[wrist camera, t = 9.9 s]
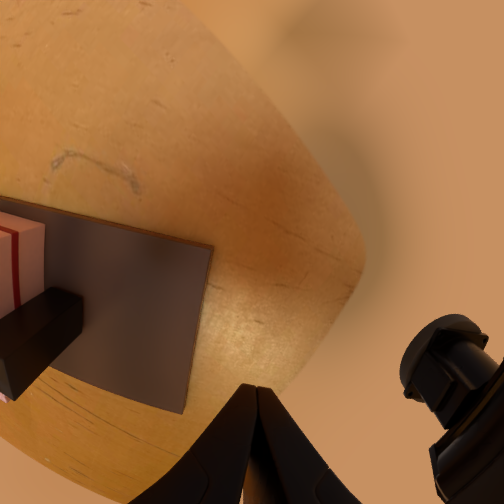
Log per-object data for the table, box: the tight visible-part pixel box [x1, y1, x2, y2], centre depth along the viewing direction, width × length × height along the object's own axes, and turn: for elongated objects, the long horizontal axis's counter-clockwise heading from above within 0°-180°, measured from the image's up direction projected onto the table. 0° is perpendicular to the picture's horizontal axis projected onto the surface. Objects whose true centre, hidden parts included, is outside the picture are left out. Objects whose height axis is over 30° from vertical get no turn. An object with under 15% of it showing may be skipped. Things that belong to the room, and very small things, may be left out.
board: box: [0, 196, 214, 414], centre depth 20 cm, size 22×14×1 cm, turn 77°
